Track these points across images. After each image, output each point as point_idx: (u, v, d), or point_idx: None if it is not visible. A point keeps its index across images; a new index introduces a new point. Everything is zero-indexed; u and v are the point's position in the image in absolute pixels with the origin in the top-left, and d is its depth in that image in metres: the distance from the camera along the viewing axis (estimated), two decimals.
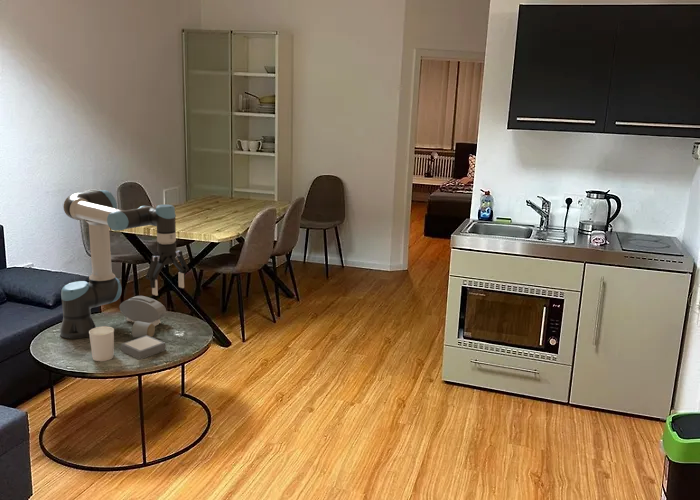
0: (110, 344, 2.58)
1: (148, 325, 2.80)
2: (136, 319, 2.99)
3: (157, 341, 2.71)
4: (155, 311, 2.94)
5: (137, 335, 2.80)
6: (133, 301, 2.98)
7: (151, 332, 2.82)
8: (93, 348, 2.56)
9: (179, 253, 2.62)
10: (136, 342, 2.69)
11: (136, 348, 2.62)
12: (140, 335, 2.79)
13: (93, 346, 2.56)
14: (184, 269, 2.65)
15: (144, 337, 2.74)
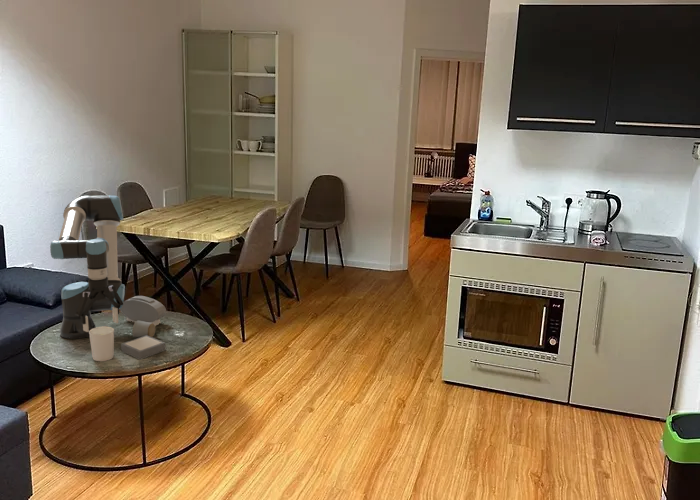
0: (110, 344, 2.58)
1: (149, 325, 2.80)
2: (136, 319, 2.99)
3: (157, 341, 2.71)
4: (155, 311, 2.94)
5: (138, 335, 2.80)
6: (133, 301, 2.98)
7: (151, 331, 2.82)
8: (93, 348, 2.56)
9: (112, 288, 2.58)
10: (136, 342, 2.69)
11: (136, 348, 2.62)
12: (141, 335, 2.80)
13: (93, 346, 2.56)
14: (118, 304, 2.61)
15: (144, 337, 2.74)
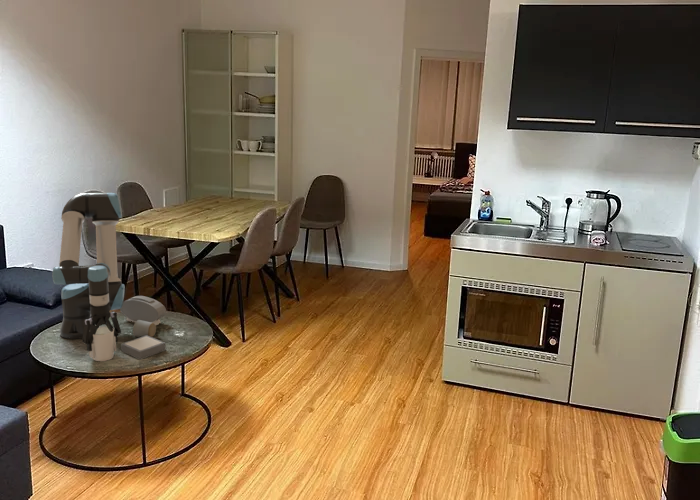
0: (110, 344, 2.58)
1: (149, 324, 2.81)
2: (136, 319, 2.99)
3: (157, 341, 2.71)
4: (155, 311, 2.94)
5: (138, 334, 2.81)
6: (133, 301, 2.98)
7: (152, 331, 2.83)
8: None
9: (113, 314, 2.61)
10: (136, 342, 2.69)
11: (136, 348, 2.62)
12: (141, 334, 2.80)
13: None
14: (116, 332, 2.63)
15: (144, 337, 2.74)
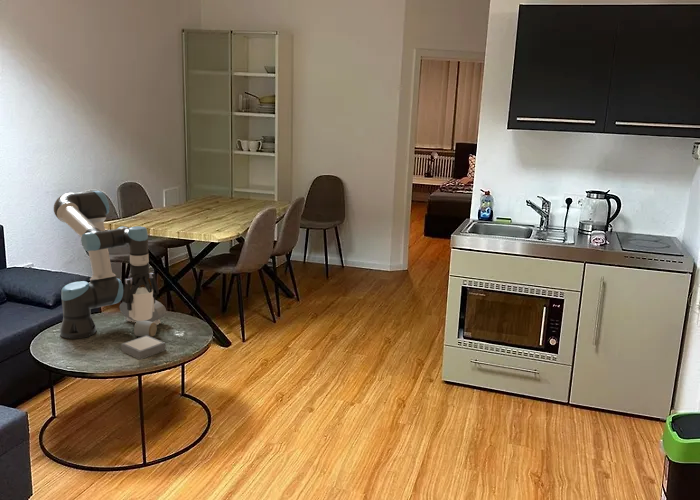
0: (149, 304, 2.62)
1: (150, 324, 2.82)
2: None
3: (157, 341, 2.71)
4: (155, 311, 2.94)
5: (139, 333, 2.81)
6: None
7: (153, 330, 2.83)
8: None
9: (152, 275, 2.65)
10: (136, 342, 2.69)
11: (136, 348, 2.62)
12: (142, 333, 2.81)
13: None
14: (154, 293, 2.67)
15: (144, 337, 2.74)
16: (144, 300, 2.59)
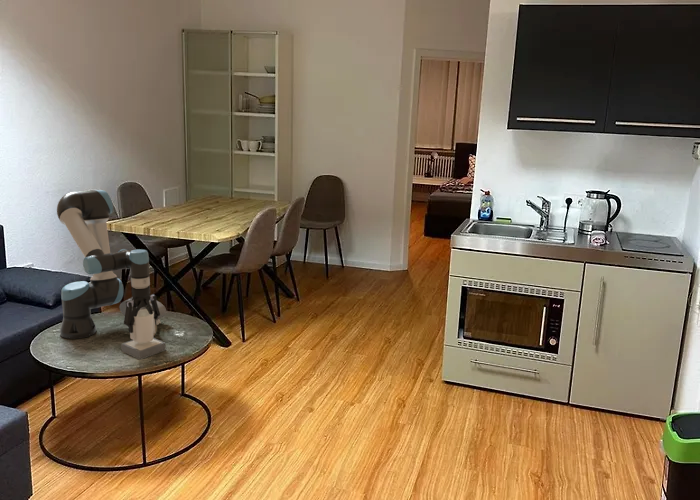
0: (150, 326, 2.64)
1: None
2: None
3: (157, 341, 2.71)
4: None
5: None
6: None
7: None
8: None
9: (153, 297, 2.68)
10: (136, 342, 2.69)
11: (136, 348, 2.62)
12: None
13: None
14: (155, 315, 2.70)
15: None
16: (145, 322, 2.62)
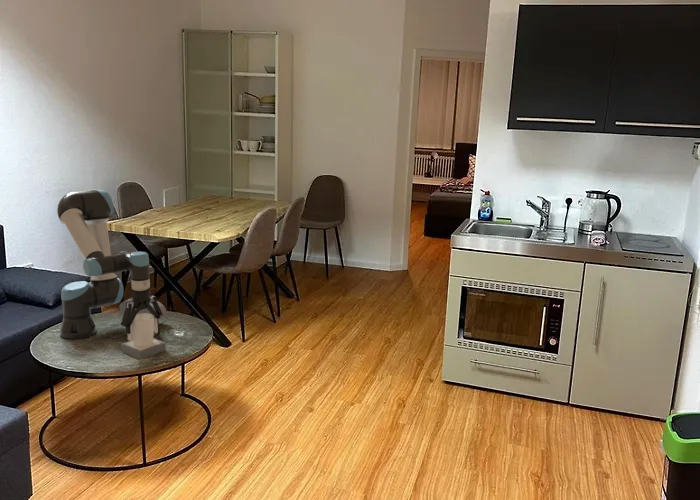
0: (150, 330, 2.65)
1: None
2: None
3: (157, 341, 2.71)
4: (155, 311, 2.94)
5: None
6: None
7: None
8: (134, 334, 2.63)
9: (153, 298, 2.68)
10: None
11: (136, 348, 2.62)
12: None
13: (134, 332, 2.63)
14: (158, 314, 2.71)
15: None
16: (145, 326, 2.62)
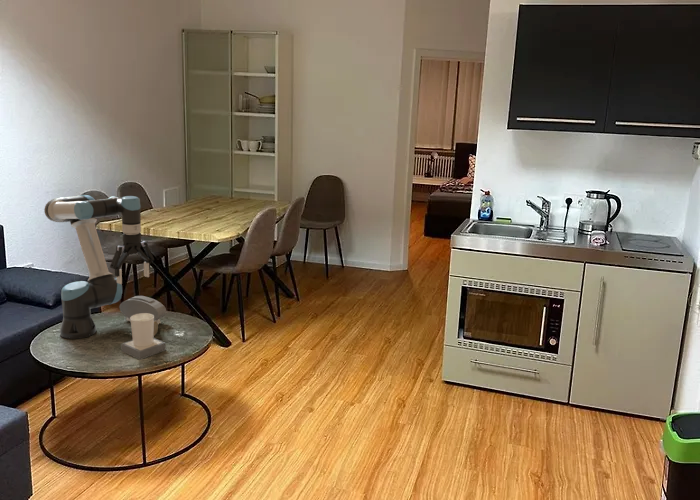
0: (150, 330, 2.65)
1: None
2: None
3: (157, 341, 2.71)
4: (155, 311, 2.94)
5: None
6: (133, 301, 2.98)
7: (154, 329, 2.85)
8: (134, 334, 2.63)
9: (144, 243, 2.70)
10: None
11: (136, 348, 2.62)
12: None
13: (134, 332, 2.63)
14: (149, 259, 2.74)
15: None
16: (145, 326, 2.62)
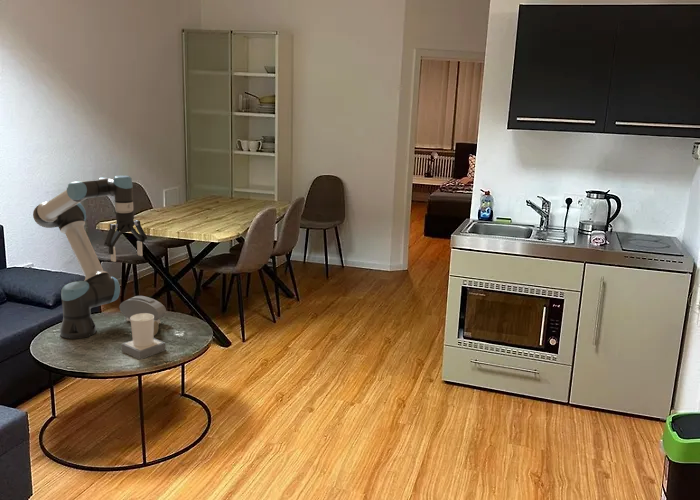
0: (150, 330, 2.65)
1: None
2: None
3: (157, 341, 2.71)
4: (155, 311, 2.94)
5: None
6: (133, 301, 2.98)
7: (155, 329, 2.85)
8: (134, 334, 2.63)
9: (137, 222, 2.77)
10: None
11: (136, 348, 2.62)
12: None
13: (134, 332, 2.63)
14: (142, 238, 2.80)
15: None
16: (145, 326, 2.62)
